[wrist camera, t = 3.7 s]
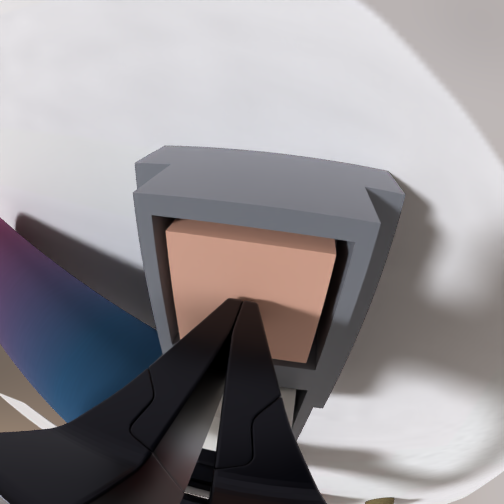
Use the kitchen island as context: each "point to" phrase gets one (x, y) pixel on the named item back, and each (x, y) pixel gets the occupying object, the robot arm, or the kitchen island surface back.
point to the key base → (279, 219)
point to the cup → (66, 331)
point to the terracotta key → (251, 278)
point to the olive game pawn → (381, 501)
